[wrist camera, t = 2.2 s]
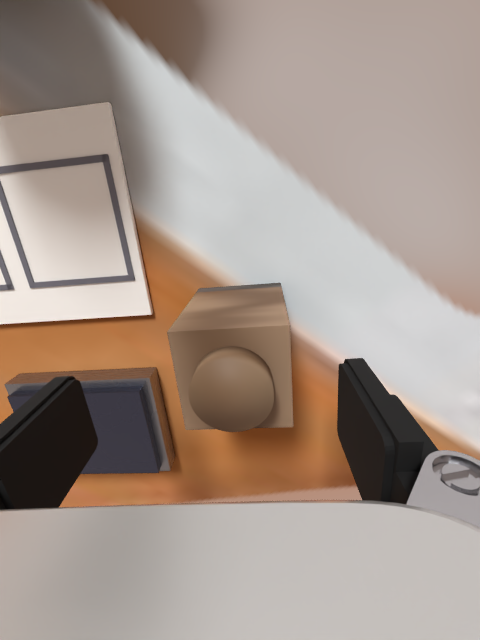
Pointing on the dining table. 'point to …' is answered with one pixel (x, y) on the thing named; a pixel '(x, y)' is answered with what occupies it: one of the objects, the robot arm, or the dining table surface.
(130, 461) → the ink pad
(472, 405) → the dining table surface
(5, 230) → the sheet
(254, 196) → the dining table surface
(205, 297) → the stamp
